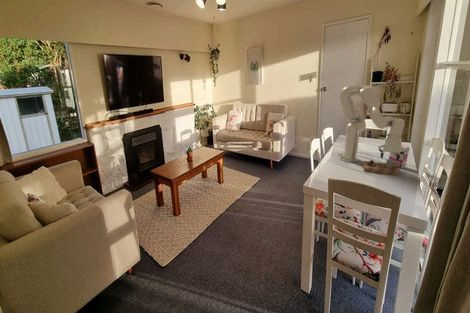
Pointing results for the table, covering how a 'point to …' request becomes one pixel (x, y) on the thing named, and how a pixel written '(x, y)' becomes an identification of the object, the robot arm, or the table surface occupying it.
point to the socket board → (379, 168)
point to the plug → (389, 164)
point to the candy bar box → (403, 157)
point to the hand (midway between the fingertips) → (389, 158)
